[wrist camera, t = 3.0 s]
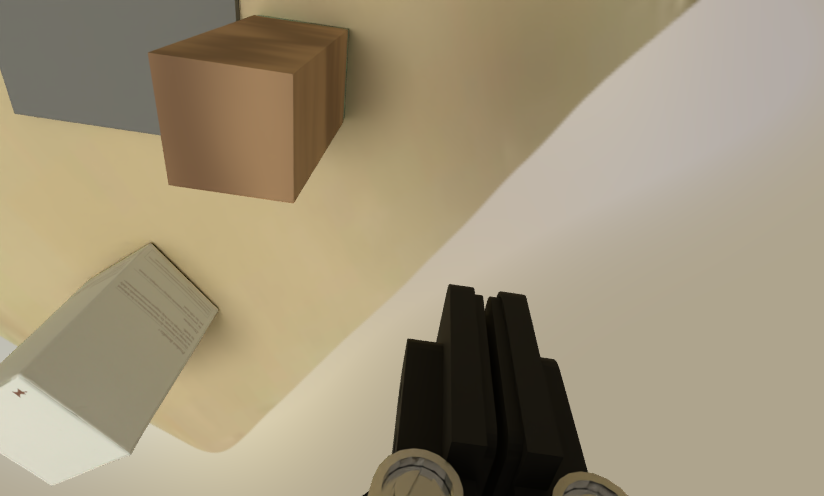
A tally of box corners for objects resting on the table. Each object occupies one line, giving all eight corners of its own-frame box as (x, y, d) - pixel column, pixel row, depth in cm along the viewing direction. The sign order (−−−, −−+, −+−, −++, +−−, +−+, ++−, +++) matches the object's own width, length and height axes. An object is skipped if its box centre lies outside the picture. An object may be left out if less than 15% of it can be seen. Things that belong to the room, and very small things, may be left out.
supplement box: (86, 278, 36) (-66, 417, 26) (152, 239, 34) (16, 373, 23) (157, 343, 39) (48, 490, 29) (223, 311, 37) (131, 458, 26)
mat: (235, -43, 24) (232, -43, 24) (246, 144, 30) (244, 147, 29) (-41, -86, 24) (-50, -86, 24) (20, 111, 29) (14, 113, 29)
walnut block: (349, 28, 26) (293, 74, 16) (344, 119, 28) (293, 203, 19) (257, 14, 26) (147, 52, 16) (260, 106, 28) (168, 185, 19)
